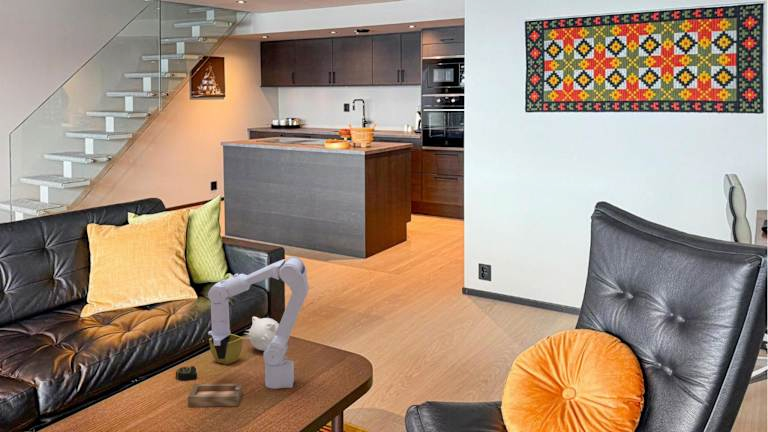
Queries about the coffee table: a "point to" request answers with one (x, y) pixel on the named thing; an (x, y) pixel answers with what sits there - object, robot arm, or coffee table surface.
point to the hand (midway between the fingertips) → (221, 358)
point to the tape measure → (186, 373)
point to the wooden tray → (215, 395)
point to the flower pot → (229, 350)
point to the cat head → (262, 332)
